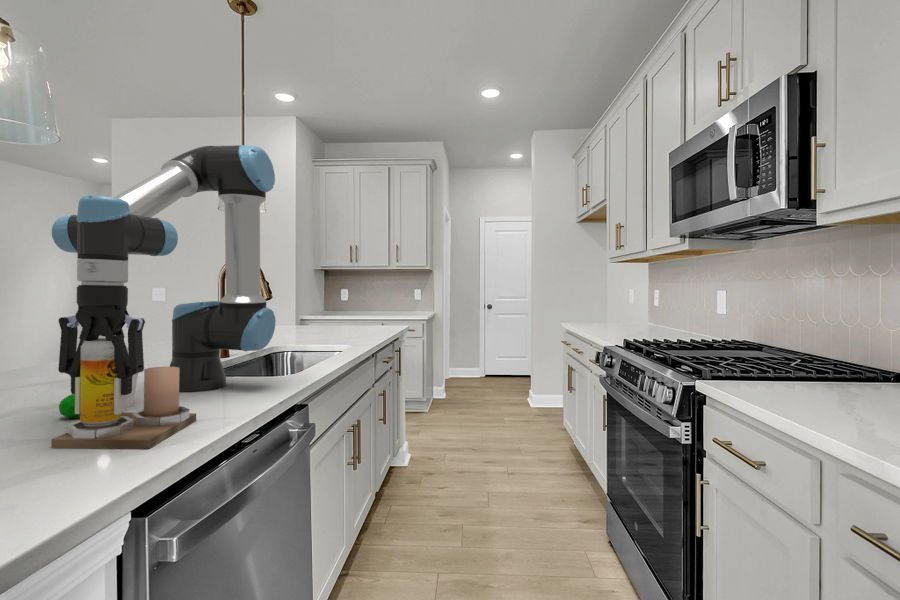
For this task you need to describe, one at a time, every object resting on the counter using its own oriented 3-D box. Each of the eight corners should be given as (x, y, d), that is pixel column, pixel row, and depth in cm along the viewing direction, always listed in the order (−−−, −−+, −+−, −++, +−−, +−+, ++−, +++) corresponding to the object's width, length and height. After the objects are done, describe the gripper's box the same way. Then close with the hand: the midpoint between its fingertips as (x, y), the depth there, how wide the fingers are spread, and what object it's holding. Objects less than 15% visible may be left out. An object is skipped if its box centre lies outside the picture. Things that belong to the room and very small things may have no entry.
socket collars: (117, 412, 102) (117, 405, 102) (195, 413, 103) (195, 406, 103) (55, 438, 84) (55, 429, 84) (150, 439, 85) (150, 431, 85)
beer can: (100, 428, 86) (101, 342, 85) (71, 425, 87) (71, 340, 86) (129, 419, 92) (130, 339, 91) (101, 417, 93) (102, 337, 92)
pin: (153, 415, 101) (154, 366, 100) (184, 415, 101) (185, 366, 101) (137, 423, 95) (137, 371, 94) (169, 423, 95) (170, 371, 95)
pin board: (116, 419, 102) (116, 412, 102) (196, 420, 103) (196, 413, 103) (51, 448, 84) (51, 439, 84) (148, 449, 85) (149, 440, 85)
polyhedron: (81, 420, 101) (82, 397, 101) (53, 421, 99) (54, 397, 99) (93, 414, 105) (93, 392, 105) (66, 415, 104) (66, 392, 104)
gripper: (31, 282, 84) (29, 417, 85) (146, 285, 85) (144, 418, 86) (62, 282, 92) (61, 406, 92) (168, 285, 93) (166, 408, 94)
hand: (101, 412), depth 89 cm, fingers closed on beer can, 6 cm apart
